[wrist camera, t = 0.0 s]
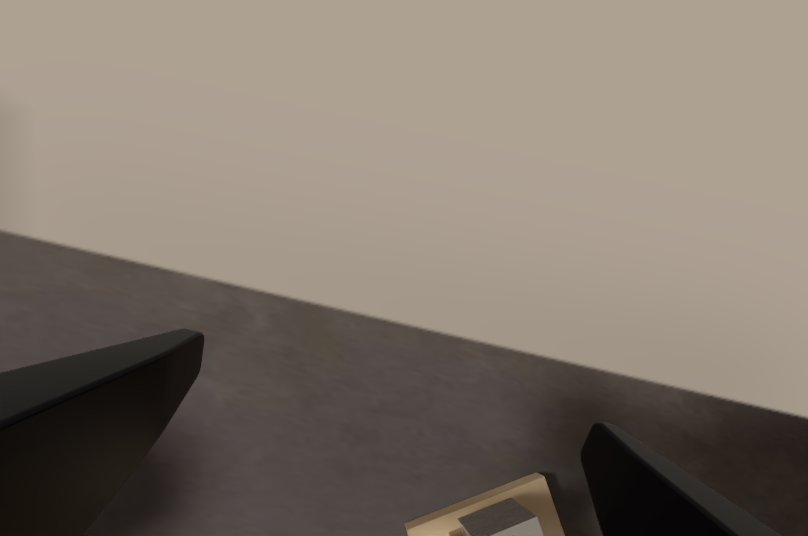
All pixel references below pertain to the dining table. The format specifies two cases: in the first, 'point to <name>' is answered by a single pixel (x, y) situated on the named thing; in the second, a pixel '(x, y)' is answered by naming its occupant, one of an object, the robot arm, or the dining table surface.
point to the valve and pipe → (501, 521)
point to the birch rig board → (442, 530)
